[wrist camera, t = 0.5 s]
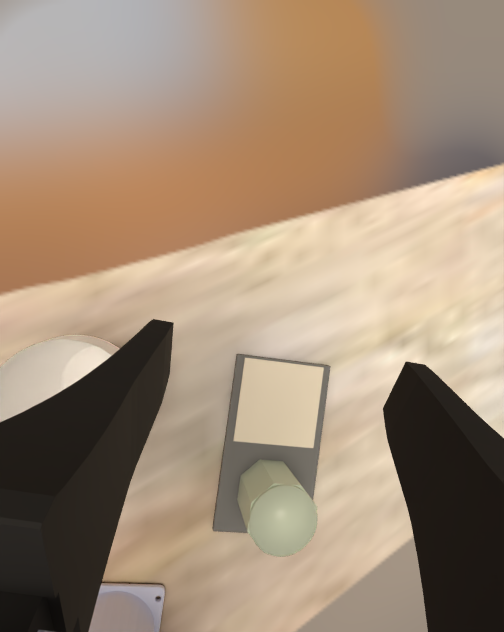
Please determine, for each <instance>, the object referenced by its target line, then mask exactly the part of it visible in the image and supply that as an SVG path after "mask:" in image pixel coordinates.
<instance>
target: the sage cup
mask: <svg viewBox="0 0 504 632" xmlns="http://www.w3.org/2000/svg"><path fill="white" fill-rule="evenodd" d="M237 501H238V504H239V507H240V510H241V513H242V516H243V520H244V523H245V526H246V529H247V532H248V533H249V534H250V536H251V537H252V538H253V540H254V542H255V543H256V545H257V546H258V547H259V548H260V549H261V550H262V551H263V552H264V553H267V554H269V555H272V556H278V557H284V556H289V555H293V554H295V553H297V552H299V551H300V550H302V549H303V548H304V547H305V546H306V545H307V544H308V543H309V542H310V540H311V539H312V537H313V535H314V533H315V530H316V526H317V506H316V504H315V503H314V502H313V500H312V499H311V498H310V496H309V495H308V494H307V492H306V491H305V490H304V488H303V487H302V485H301V484H300V483H299V481H298V480H297V479H296V477H295V476H294V475H293V474H292V472H291V471H290V470H289V468H288V467H287V466H286V464H285V463H284V462H283V461H273V460H261V459H260V460H258V461H257V462H256V463H255V464H254V465H252V466H251V467H250V468H249V469H248V470H246V471H245V472H244V473H243V474H242V475H241V476H240V483H239V491H238V498H237Z"/></svg>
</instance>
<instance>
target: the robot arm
mask: <svg viewBox="0 0 504 632" xmlns="http://www.w3.org/2000/svg"><path fill="white" fill-rule="evenodd" d="M172 336H173V322H167V321H161V320H155V319H153V320H151V321H150V322H149V323H148V324H147V325H146V326H145V327H144V328H143V329H141V330H140V331H139V332H138V333H137V334H136V335H135V336H134V337H133V338H132V339H131V340H129V341H128V342H127V343H126V344H125V345H124V346H123V347H121V348H120V349H119V350H118V351H117V352H115V353H114V354H113V355H112V356H111V357H109V358H108V359H107V360H106V361H104V362H103V363H102V364H100V365H99V366H98V367H96V368H95V369H94V370H92V371H91V372H89V373H88V374H87V375H85V376H84V377H82V378H81V379H79V380H78V381H76V382H75V383H73V384H72V385H70V386H69V387H67V388H65V389H64V390H62V391H61V392H59V393H57V394H56V395H54V396H52V397H50V398H48V399H47V400H45V401H43V402H41V403H39V404H37V405H35V406H33V407H31V408H29V409H27V410H25V411H24V412H22V413H19V414H17V415H15V416H13V417H11V418H9V419H6V420H4V421H2V422H0V632H159V630H160V623H161V616H162V609H163V602H164V595H165V588H164V586H163V585H152V584H115V583H102V579H103V575H104V572H105V568H106V564H107V561H108V557H109V553H110V550H111V546H112V543H113V539H114V536H115V532H116V529H117V525H118V522H119V518H120V515H121V512H122V508H123V505H124V501H125V498H126V495H127V491H128V488H129V485H130V481H131V479H132V476H133V473H134V470H135V467H136V465H137V462H138V460H139V458H140V455H141V453H142V450H143V448H144V445H145V443H146V440H147V438H148V436H149V433H150V431H151V428H152V426H153V423H154V421H155V418H156V416H157V413H158V411H159V408H160V406H161V403H162V400H163V396H164V393H165V389H166V386H167V382H168V378H169V374H170V362H171V349H172ZM383 412H384V420H385V427H386V434H387V439H388V443H389V447H390V450H391V453H392V457H393V460H394V464H395V467H396V471H397V474H398V477H399V481H400V484H401V487H402V491H403V494H404V497H405V501H406V504H407V508H408V512H409V516H410V520H411V524H412V529H413V535H414V540H415V546H416V551H417V556H418V562H419V568H420V575H421V582H422V588H423V595H424V603H425V611H426V619H427V627H428V632H504V438H503V437H502V436H500V435H499V434H498V433H497V432H496V431H495V430H494V429H492V428H491V427H490V426H489V425H488V424H487V423H486V422H485V421H484V420H483V419H482V418H480V417H479V416H478V415H477V414H476V413H475V412H474V411H473V410H472V409H471V408H470V407H469V406H468V405H467V404H466V403H465V402H464V401H463V400H462V399H461V398H460V397H459V396H458V395H457V394H456V393H455V392H454V391H453V390H452V389H451V388H450V387H448V386H447V385H446V384H445V383H444V382H443V381H442V380H441V379H440V378H439V377H438V376H437V375H436V374H435V373H434V372H433V371H432V370H431V369H429V368H428V367H427V366H426V365H423V364H417V363H411V362H405V365H404V367H403V369H402V371H401V373H400V375H399V377H398V379H397V381H396V383H395V385H394V387H393V389H392V391H391V393H390V395H389V397H388V399H387V401H386V403H385V405H384V407H383ZM157 596H160V597H161V598H160V599H156V597H157Z"/></svg>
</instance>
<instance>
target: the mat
mask: <svg viewBox="0 0 504 632" xmlns="http://www.w3.org/2000/svg"><path fill="white" fill-rule="evenodd" d="M329 373H330V366H327V365H320V364H312V363H304V362H296V361H288V360H280V359H273V358H265V357H257V356H249V355H241V354H237V357H236V364H235V371H234V379H233V386H232V393H231V400H230V407H229V415H228V422H227V429H226V436H225V443H224V450H223V458H222V465H221V472H220V479H219V486H218V494H217V501H216V508H215V515H214V522H213V531H219V532H239V533H248V532H247V529H246V526H245V523H244V520H243V516H242V513H241V510H240V507H239V504H238V501H237V498H238V491H239V483H240V476H241V475H242V474H243V473H244V472H245V471H246V470H248V469H249V468H250V467H251V466H252V465H254V464H255V463H256V462H257V461H258V460H260V459H261V460H273V461H283V462H284V463H285V464H286V466H287V467H288V468H289V470H290V471H291V472H292V474H293V475H294V476H295V477H296V479H297V480H298V481H299V483H300V484H301V485H302V487H303V488H304V490H305V491H306V492H307V494H308V495H309V496H310V498H311V499H312V500H313V496H314V488H315V481H316V473H317V465H318V458H319V450H320V442H321V434H322V427H323V419H324V411H325V404H326V396H327V388H328V381H329Z"/></svg>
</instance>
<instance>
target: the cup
mask: <svg viewBox="0 0 504 632" xmlns="http://www.w3.org/2000/svg"><path fill="white" fill-rule="evenodd" d="M119 349H120V348H118V347H117V346H115V345H114V344H112V343H110V342H108V341H106V340H103V339H100V338H97V337H93V336H87V335H63V336H58V337H54V338H51V339H48V340H45V341H43V342H40V343H37V344H34V345H31V346H29V347H27V348H25V349H23V350H21V351H19V352H18V353H16V354H15V355H13V356H12V357H11V358H9V359H8V360H7V361H6V362H5V363H4V364H3V365H2V366H1V367H0V422H2V421H4V420H6V419H9V418H11V417H13V416H15V415H17V414H19V413H22V412H24V411H25V410H27V409H29V408H31V407H33V406H35V405H37V404H39V403H41V402H43V401H45V400H47V399H48V398H50V397H52V396H54V395H56V394H57V393H59V392H61V391H62V390H64V389H65V388H67V387H69V386H70V385H72V384H73V383H75V382H76V381H78V380H79V379H81V378H82V377H84V376H85V375H87V374H88V373H89V372H91V371H92V370H94V369H95V368H96V367H98V366H99V365H100V364H102V363H103V362H104V361H106V360H107V359H108V358H109V357H111V356H112V355H113V354H114V353H115V352H117V351H118V350H119Z"/></svg>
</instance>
